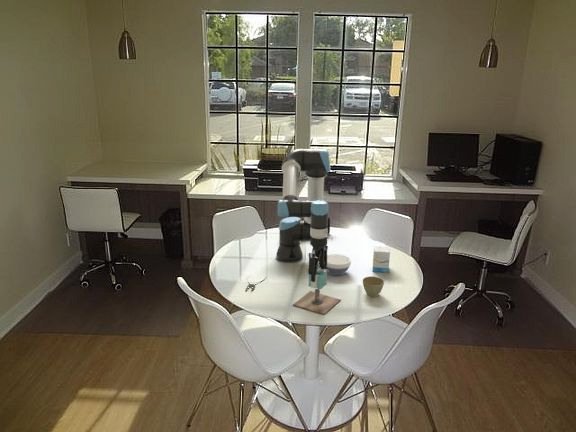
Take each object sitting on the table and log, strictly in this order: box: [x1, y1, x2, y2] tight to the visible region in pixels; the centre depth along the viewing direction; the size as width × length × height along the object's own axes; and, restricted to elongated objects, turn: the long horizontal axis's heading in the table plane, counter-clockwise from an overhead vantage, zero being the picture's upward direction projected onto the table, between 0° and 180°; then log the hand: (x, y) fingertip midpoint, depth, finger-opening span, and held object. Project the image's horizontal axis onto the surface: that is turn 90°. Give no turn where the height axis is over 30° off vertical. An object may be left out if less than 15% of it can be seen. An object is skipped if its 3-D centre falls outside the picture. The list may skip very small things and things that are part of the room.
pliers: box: [245, 283, 257, 292], centre depth 225 cm, size 10×1×20 cm
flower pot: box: [362, 275, 385, 298], centre depth 213 cm, size 10×10×7 cm
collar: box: [307, 269, 328, 290], centre depth 202 cm, size 6×6×6 cm
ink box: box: [372, 245, 391, 273], centre depth 242 cm, size 8×8×12 cm
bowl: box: [325, 253, 352, 276], centre depth 238 cm, size 14×14×8 cm
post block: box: [292, 288, 342, 316], centre depth 204 cm, size 16×16×7 cm
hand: (317, 284), depth 203 cm, fingers closed on collar, 6 cm apart
